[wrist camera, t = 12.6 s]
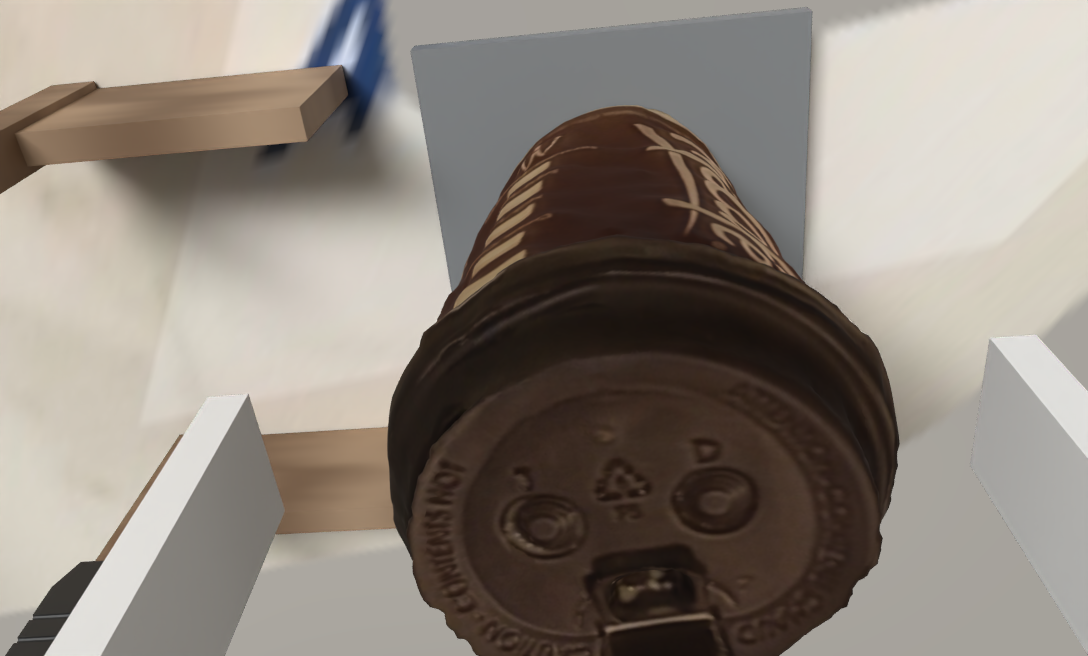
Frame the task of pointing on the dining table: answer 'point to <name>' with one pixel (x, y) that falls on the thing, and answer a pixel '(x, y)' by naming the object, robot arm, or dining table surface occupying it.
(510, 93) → the coaster
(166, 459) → the cup holder rails
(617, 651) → the coffee cup
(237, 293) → the dining table surface
